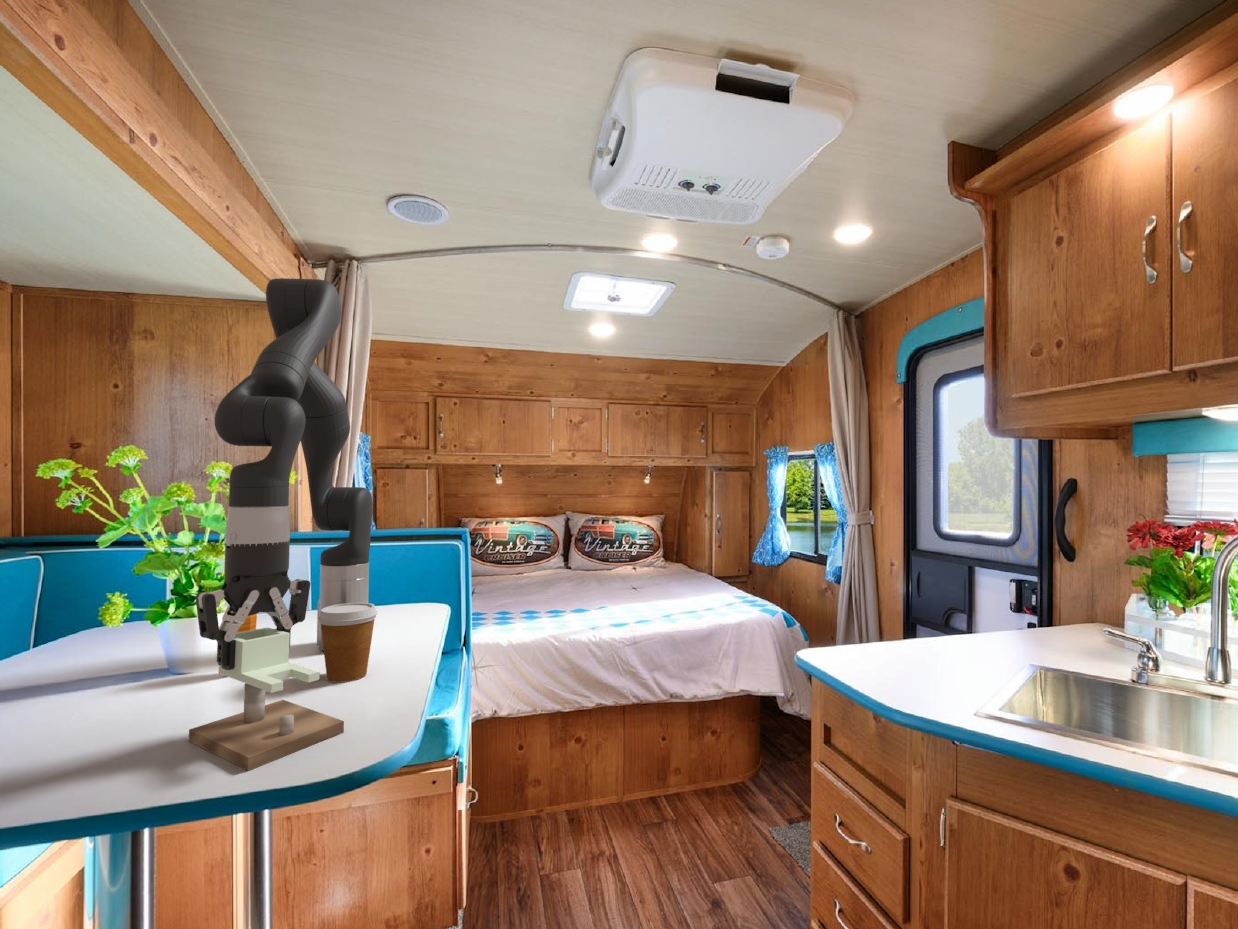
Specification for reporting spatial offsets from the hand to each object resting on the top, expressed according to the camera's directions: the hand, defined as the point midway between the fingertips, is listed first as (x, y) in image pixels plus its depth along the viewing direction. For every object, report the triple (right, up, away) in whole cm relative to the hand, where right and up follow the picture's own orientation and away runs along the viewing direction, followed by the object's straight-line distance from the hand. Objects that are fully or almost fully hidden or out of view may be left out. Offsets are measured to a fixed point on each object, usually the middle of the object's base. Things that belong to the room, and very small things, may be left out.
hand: (254, 661), depth 77 cm
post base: (+3, -9, -2) cm, 10 cm away
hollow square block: (+3, -1, -2) cm, 4 cm away
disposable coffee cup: (+2, -10, +22) cm, 24 cm away
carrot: (-18, -10, +23) cm, 31 cm away
